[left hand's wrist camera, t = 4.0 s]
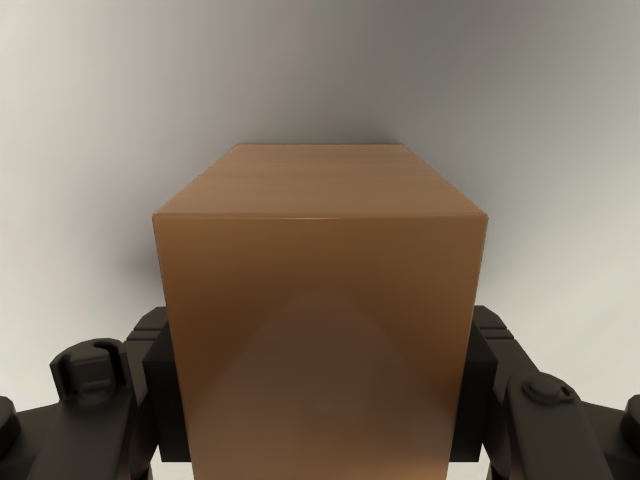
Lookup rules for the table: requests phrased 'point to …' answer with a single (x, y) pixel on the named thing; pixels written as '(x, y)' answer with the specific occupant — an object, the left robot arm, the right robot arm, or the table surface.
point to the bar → (320, 311)
